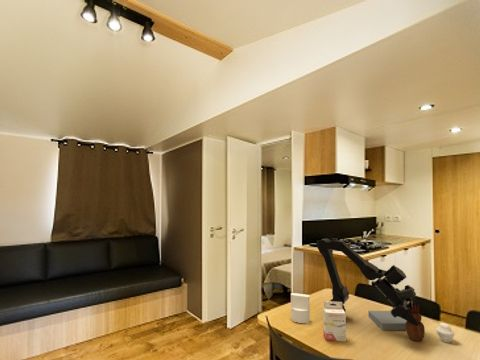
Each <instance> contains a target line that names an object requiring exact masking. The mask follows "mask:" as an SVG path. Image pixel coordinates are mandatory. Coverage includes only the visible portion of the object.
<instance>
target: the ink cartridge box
mask: <svg viewBox="0 0 480 360" xmlns="http://www.w3.org/2000/svg"><path fill="white" fill-rule="evenodd" d="M330 304H336V306H333V305H330ZM322 309H323V311H322V312H323V319H322V321H323V336H324V339H325V341H333V340H334V341H335V342H346V341H347V317H346V316H347V313H345V312H344V310H343V309H342V302H332V301H330V300H329V301H327V300H326V301H323V308H322Z"/></svg>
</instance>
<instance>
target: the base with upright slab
mask: <svg viewBox="0 0 480 360" xmlns="http://www.w3.org/2000/svg"><path fill="white" fill-rule="evenodd" d="M310 307H311V306H310V294H304V293H297V292H292V293H290V313H291V316H290V318H291V319H292V320H293V321H294V322H293V321H292V320H291V319H290V320H291V321H292V322H293V323H295V322H298V323H297V324H299V323H306V324H308V322H309V321H310V322H311V319H310V317H311V315H310V314H311V312H310V311H311V310H310ZM310 322H309V323H310Z"/></svg>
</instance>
